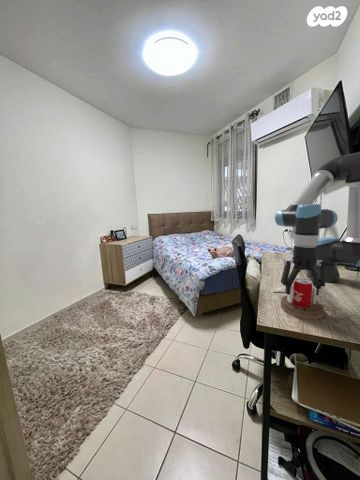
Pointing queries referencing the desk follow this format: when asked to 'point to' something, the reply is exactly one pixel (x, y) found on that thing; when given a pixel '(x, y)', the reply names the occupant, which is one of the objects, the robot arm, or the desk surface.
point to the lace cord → (279, 291)
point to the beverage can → (302, 293)
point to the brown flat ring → (303, 309)
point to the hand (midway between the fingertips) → (300, 302)
